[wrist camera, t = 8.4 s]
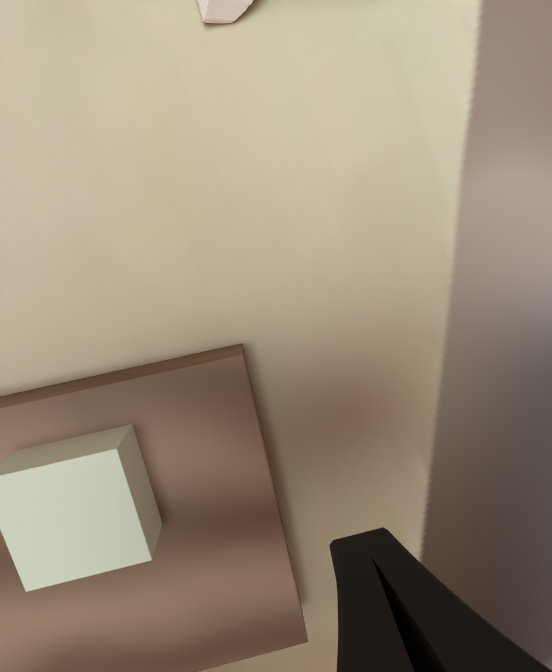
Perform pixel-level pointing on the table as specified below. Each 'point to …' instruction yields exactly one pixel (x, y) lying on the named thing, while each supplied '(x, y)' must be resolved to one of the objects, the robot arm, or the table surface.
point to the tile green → (77, 507)
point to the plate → (162, 528)
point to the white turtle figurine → (222, 10)
